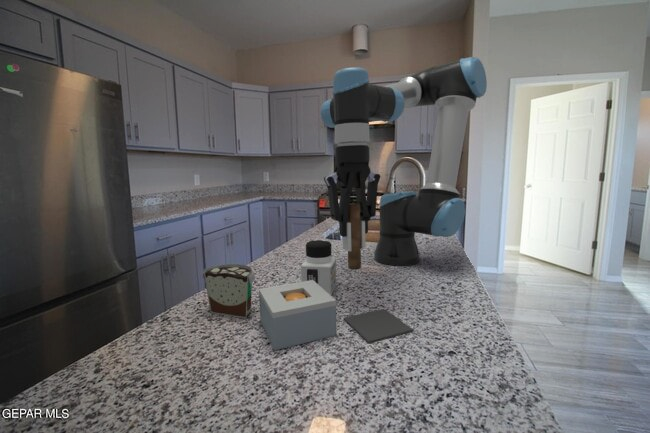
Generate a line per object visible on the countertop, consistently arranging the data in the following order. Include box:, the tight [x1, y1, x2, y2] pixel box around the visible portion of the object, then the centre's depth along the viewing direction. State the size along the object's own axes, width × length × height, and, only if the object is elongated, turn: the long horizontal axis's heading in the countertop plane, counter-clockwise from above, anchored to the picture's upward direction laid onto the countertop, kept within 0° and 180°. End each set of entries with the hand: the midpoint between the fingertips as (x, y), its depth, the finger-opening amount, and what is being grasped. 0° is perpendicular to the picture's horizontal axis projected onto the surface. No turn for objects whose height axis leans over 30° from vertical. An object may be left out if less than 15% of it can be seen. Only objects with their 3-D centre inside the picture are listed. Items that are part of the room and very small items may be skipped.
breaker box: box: [258, 280, 337, 351], centre depth 62 cm, size 12×12×7 cm
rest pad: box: [343, 308, 414, 344], centre depth 63 cm, size 10×10×1 cm
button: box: [285, 293, 306, 301], centre depth 62 cm, size 4×4×3 cm
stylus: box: [347, 202, 362, 271], centre depth 72 cm, size 3×3×15 cm
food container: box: [201, 263, 256, 319], centre depth 70 cm, size 12×6×10 cm, turn 71°
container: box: [300, 239, 337, 296], centre depth 81 cm, size 8×8×13 cm
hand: (354, 248), depth 72 cm, fingers closed on stylus, 3 cm apart
